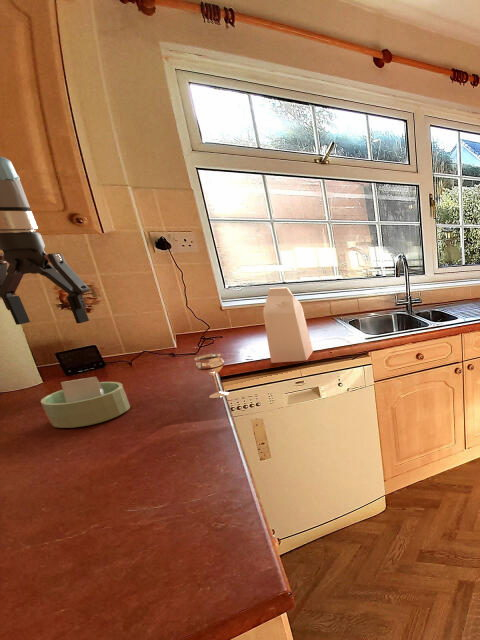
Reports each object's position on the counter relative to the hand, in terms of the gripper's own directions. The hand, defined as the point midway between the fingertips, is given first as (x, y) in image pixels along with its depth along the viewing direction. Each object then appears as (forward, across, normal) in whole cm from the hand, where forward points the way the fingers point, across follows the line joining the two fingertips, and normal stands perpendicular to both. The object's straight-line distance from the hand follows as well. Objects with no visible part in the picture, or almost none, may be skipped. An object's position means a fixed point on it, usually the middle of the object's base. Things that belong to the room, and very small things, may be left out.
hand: (53, 322), depth 104 cm
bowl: (+26, 0, 0) cm, 26 cm away
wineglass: (+26, -26, -12) cm, 39 cm away
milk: (+26, -34, -48) cm, 64 cm away
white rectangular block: (+25, 0, 0) cm, 25 cm away
